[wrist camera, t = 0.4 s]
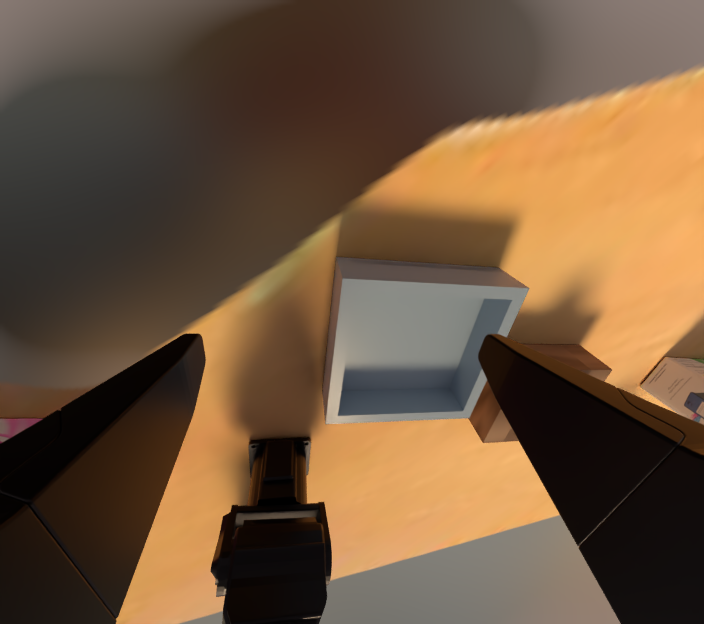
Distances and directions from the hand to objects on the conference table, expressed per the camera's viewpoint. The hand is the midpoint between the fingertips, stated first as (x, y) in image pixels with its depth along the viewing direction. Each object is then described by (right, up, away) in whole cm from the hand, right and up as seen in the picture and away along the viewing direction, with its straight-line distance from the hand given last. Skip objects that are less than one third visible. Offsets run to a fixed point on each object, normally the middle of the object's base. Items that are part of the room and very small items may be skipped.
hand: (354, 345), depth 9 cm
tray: (+5, -1, +18) cm, 19 cm away
